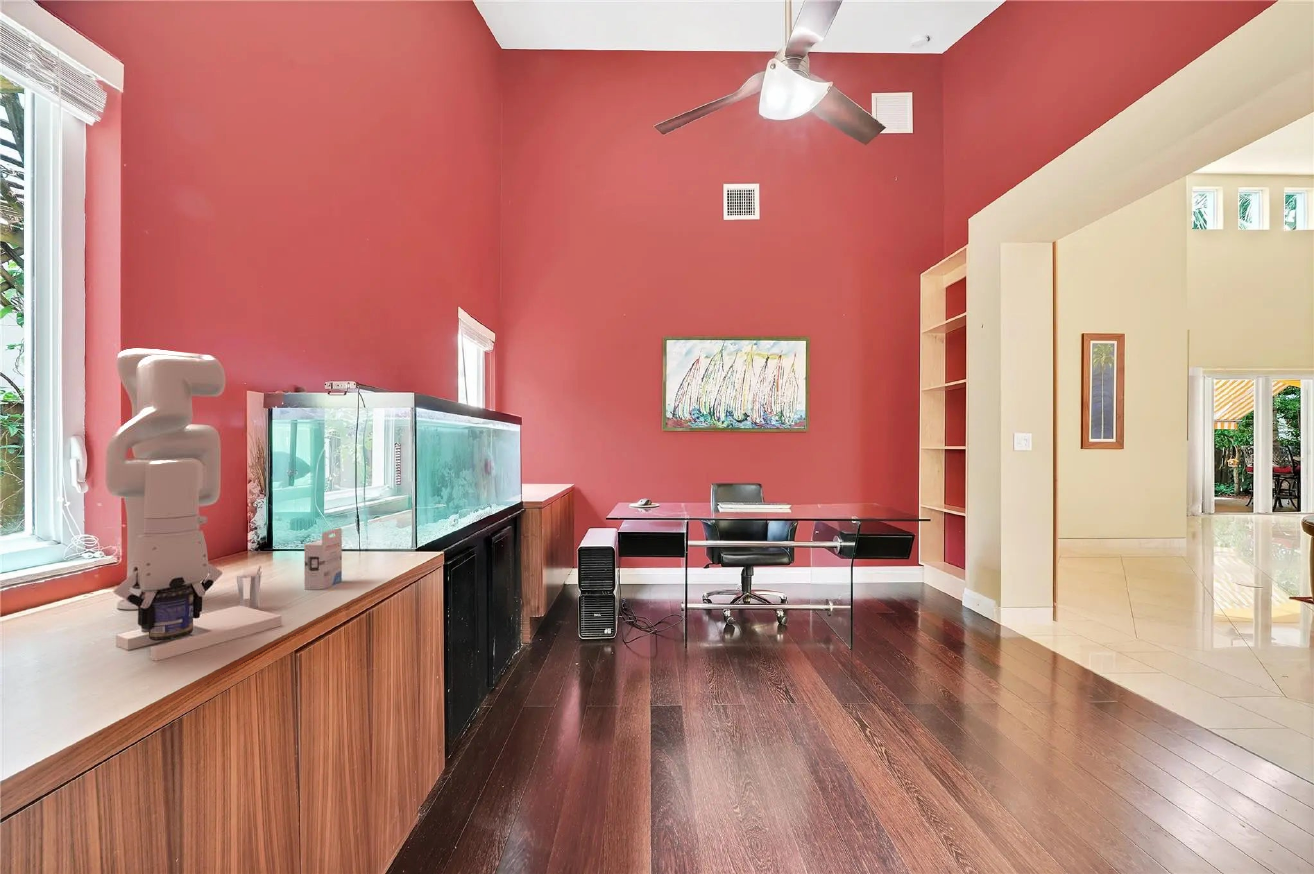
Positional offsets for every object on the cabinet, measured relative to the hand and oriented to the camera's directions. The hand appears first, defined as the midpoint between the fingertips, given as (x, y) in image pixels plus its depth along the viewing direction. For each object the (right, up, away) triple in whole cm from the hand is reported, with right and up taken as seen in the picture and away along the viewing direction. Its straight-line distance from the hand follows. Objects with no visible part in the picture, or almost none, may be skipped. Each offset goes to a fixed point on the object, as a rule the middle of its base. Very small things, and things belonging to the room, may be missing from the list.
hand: (171, 621), depth 98 cm
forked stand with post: (+1, -4, +5) cm, 7 cm away
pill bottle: (0, -3, 0) cm, 3 cm away
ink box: (+2, -5, +42) cm, 42 cm away
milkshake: (-2, -5, +22) cm, 22 cm away
